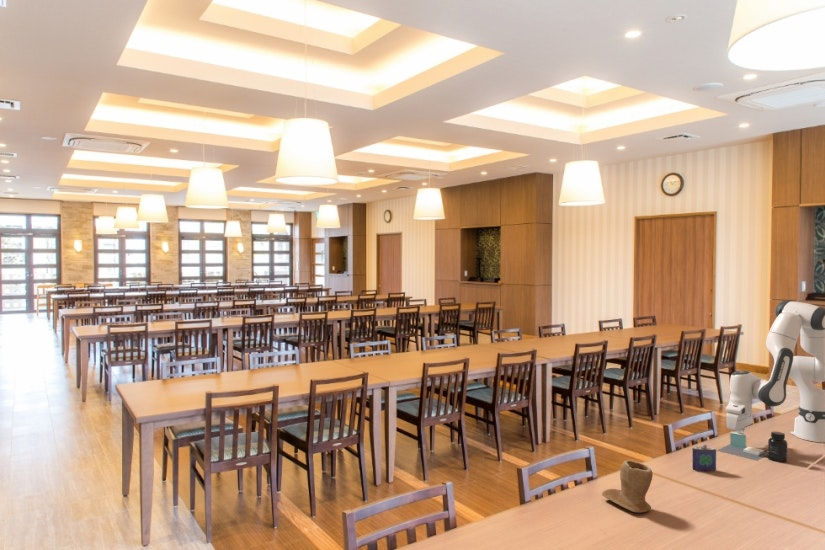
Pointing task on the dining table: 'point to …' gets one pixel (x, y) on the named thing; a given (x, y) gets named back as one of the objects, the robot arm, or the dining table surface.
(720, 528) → the dining table surface
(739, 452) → the mat
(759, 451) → the tile
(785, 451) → the supplement bottle
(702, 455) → the flask
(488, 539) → the dining table surface
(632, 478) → the brown boot
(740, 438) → the tile
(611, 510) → the dining table surface
